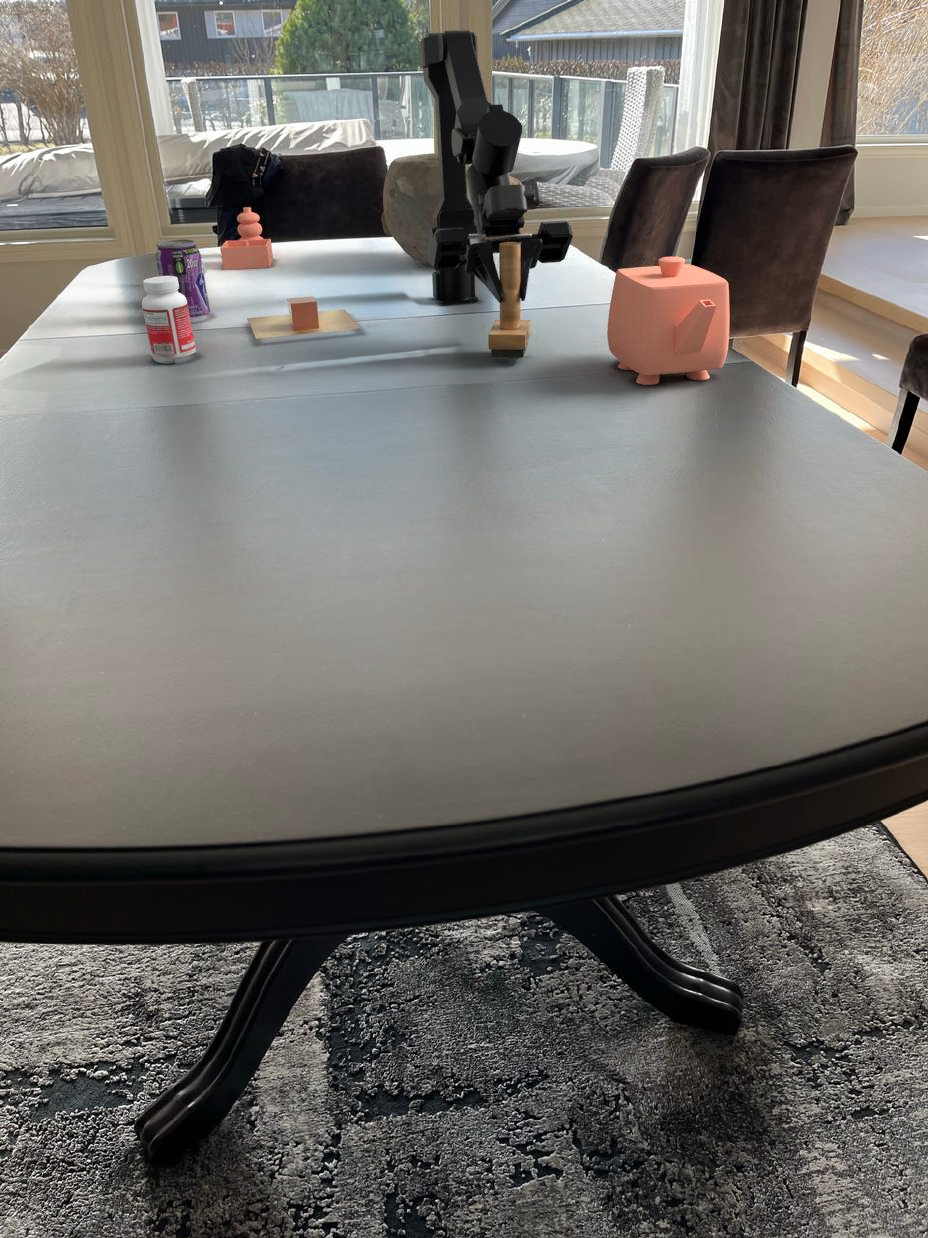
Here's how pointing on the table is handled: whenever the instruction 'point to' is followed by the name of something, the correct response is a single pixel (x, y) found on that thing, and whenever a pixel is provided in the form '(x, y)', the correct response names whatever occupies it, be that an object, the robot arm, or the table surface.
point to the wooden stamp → (509, 308)
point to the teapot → (669, 320)
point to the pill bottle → (167, 319)
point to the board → (282, 327)
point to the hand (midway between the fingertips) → (512, 299)
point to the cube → (303, 313)
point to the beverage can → (185, 272)
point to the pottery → (247, 245)
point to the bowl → (414, 202)
